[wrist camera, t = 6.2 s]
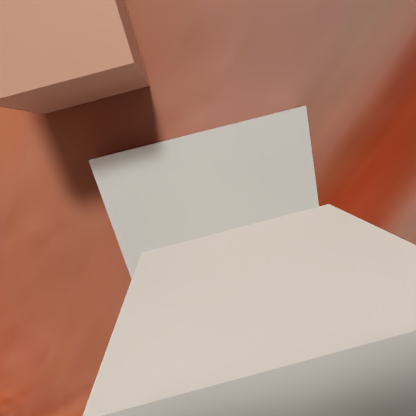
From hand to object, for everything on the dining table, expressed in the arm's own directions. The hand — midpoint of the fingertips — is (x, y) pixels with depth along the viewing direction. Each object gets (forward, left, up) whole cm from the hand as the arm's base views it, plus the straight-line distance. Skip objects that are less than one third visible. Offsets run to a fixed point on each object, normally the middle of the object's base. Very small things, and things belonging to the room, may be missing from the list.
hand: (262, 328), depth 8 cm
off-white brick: (0, 0, -1) cm, 1 cm away
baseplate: (0, 0, -10) cm, 10 cm away
